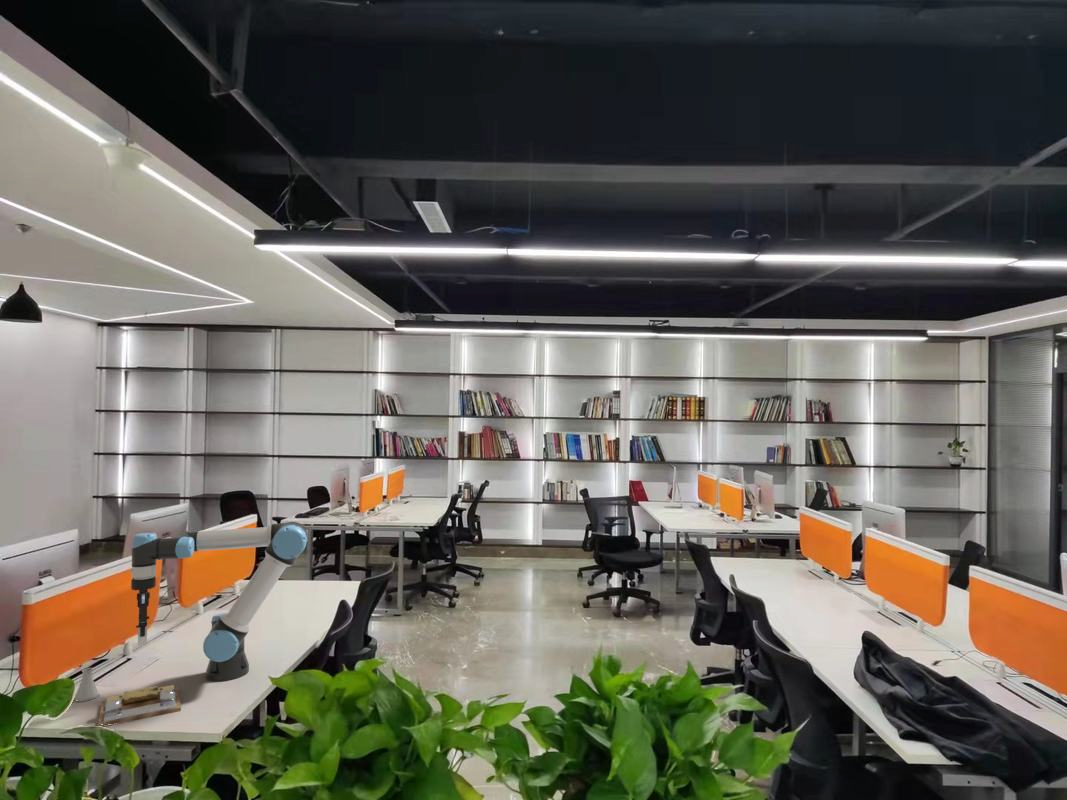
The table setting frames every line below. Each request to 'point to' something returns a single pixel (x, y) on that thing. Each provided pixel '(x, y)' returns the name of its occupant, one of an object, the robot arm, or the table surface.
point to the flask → (86, 687)
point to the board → (140, 704)
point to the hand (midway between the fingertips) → (142, 641)
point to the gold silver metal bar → (140, 694)
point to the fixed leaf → (115, 707)
